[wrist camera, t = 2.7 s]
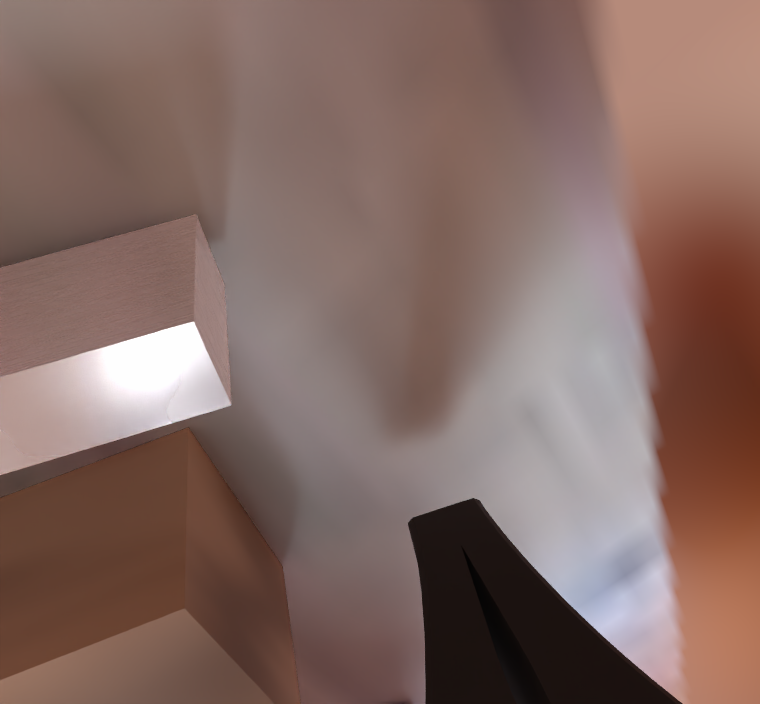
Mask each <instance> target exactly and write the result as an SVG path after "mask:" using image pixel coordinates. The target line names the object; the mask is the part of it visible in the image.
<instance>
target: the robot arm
mask: <svg viewBox="0 0 760 704" xmlns="http://www.w3.org/2000/svg"><path fill="white" fill-rule="evenodd" d="M408 526H409V530H410V534H411V538H412V542H413V546H414V550H415V554H416V558H417V562H418V567H419V575H420V583H421V591H422V603H423V617H424V631H425V675H426V704H682V703H681V702H680V701H678V700H677V699H676V698H675V697H673V696H672V695H671V694H670V693H668V692H667V691H666V690H665V689H663V688H662V687H661V686H660V685H658V684H657V683H656V682H655V681H654V680H652V679H651V678H650V677H649V676H648V675H646V674H645V673H644V672H643V671H642V670H641V669H639V668H638V667H637V666H636V665H635V664H633V663H632V662H631V661H630V660H629V659H628V658H626V657H625V656H624V655H623V654H622V653H621V652H620V651H619V650H617V649H616V648H615V647H614V646H613V645H612V644H611V643H610V642H609V641H607V640H606V639H605V638H604V637H603V636H602V635H601V634H600V633H599V632H598V631H597V630H596V629H594V628H593V627H592V626H591V625H590V624H589V623H588V622H587V621H586V620H585V619H584V618H583V617H582V616H581V615H580V614H579V613H578V612H577V611H576V610H575V609H574V608H573V607H571V606H570V605H569V604H568V603H567V602H566V601H565V600H564V599H563V598H562V597H561V596H560V594H559V593H558V592H557V591H556V590H555V589H554V588H553V587H552V586H551V585H550V584H549V583H548V582H547V581H546V580H545V579H544V578H543V577H542V576H541V575H540V574H539V573H538V572H537V570H536V569H535V568H534V567H533V566H532V565H531V564H530V563H529V562H528V561H527V560H526V558H525V557H524V556H523V555H522V554H521V553H520V552H519V550H518V549H517V548H516V547H515V546H514V545H513V543H512V542H511V541H510V540H509V539H508V538H507V536H506V535H505V534H504V533H503V531H502V530H501V529H500V528H499V526H498V525H497V524H496V523H495V521H494V520H493V519H492V517H491V516H490V515H489V513H488V512H487V511H486V509H485V508H484V507H483V505H482V504H481V502H480V501H479V500H477V499H475V498H472V499H469V500H466V501H463V502H460V503H456V504H453V505H450V506H447V507H444V508H441V509H438V510H435V511H432V512H429V513H426V514H423V515H420V516H417V517H413V518H412V519H411V520H410V521H409V523H408Z"/></svg>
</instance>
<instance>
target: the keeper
mask: <svg viewBox="0 0 760 704" xmlns="http://www.w3.org/2000/svg"><path fill="white" fill-rule="evenodd" d="M231 405H232V399H231V383H230V367H229V350H228V334H227V317H226V301H225V285H224V282H223V280H222V277H221V275H220V272H219V270H218V267H217V265H216V262H215V260H214V257H213V255H212V252H211V250H210V247H209V245H208V242H207V240H206V237H205V235H204V232H203V230H202V227H201V225H200V222H199V220H198V217H197V215H196V214H194V215H191V216H187V217H183V218H180V219H176V220H172V221H169V222H165V223H161V224H158V225H154V226H150V227H147V228H143V229H139V230H136V231H132V232H128V233H125V234H121V235H117V236H114V237H110V238H106V239H103V240H99V241H95V242H92V243H88V244H84V245H81V246H77V247H73V248H70V249H66V250H62V251H59V252H55V253H51V254H48V255H44V256H40V257H37V258H33V259H29V260H26V261H22V262H18V263H15V264H11V265H7V266H4V267H0V475H3V474H6V473H9V472H13V471H16V470H19V469H23V468H26V467H29V466H33V465H36V464H39V463H43V462H46V461H49V460H53V459H56V458H59V457H62V456H66V455H69V454H72V453H76V452H79V451H82V450H86V449H89V448H92V447H96V446H99V445H102V444H105V443H109V442H112V441H115V440H119V439H122V438H125V437H129V436H132V435H135V434H139V433H142V432H145V431H149V430H152V429H155V428H158V427H162V426H165V425H168V424H172V423H175V422H178V421H182V420H185V419H188V418H192V417H195V416H198V415H202V414H205V413H208V412H211V411H215V410H218V409H221V408H225V407H228V406H231Z"/></svg>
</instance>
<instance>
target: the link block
mask: <svg viewBox="0 0 760 704" xmlns="http://www.w3.org/2000/svg"><path fill="white" fill-rule="evenodd" d="M0 704H301V702H300V694H299V687H298V679H297V671H296V664H295V656H294V649H293V641H292V634H291V626H290V619H289V611H288V604H287V596H286V588H285V581H284V573H283V567H282V565H281V564H280V562H279V561H278V559H277V558H276V556H275V555H274V553H273V552H272V550H271V549H270V547H269V546H268V544H267V543H266V541H265V540H264V538H263V537H262V535H261V534H260V533H259V531H258V530H257V528H256V527H255V525H254V524H253V522H252V521H251V519H250V518H249V516H248V515H247V513H246V512H245V510H244V509H243V507H242V506H241V504H240V503H239V501H238V500H237V498H236V497H235V496H234V494H233V493H232V491H231V490H230V488H229V487H228V485H227V484H226V482H225V481H224V479H223V478H222V476H221V475H220V473H219V472H218V470H217V469H216V467H215V466H214V464H213V463H212V461H211V460H210V459H209V457H208V456H207V454H206V453H205V451H204V450H203V448H202V447H201V445H200V444H199V442H198V441H197V439H196V438H195V436H194V435H193V433H192V432H191V430H190V429H189V427H188V428H185V429H182V430H180V431H177V432H174V433H172V434H169V435H166V436H164V437H161V438H158V439H156V440H153V441H150V442H148V443H145V444H142V445H140V446H137V447H134V448H132V449H129V450H126V451H124V452H121V453H118V454H116V455H113V456H110V457H108V458H105V459H102V460H100V461H97V462H94V463H92V464H89V465H87V466H84V467H81V468H79V469H76V470H73V471H71V472H68V473H65V474H63V475H60V476H57V477H55V478H52V479H49V480H47V481H44V482H41V483H39V484H36V485H33V486H31V487H28V488H25V489H23V490H20V491H17V492H15V493H12V494H9V495H7V496H4V497H1V498H0Z"/></svg>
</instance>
